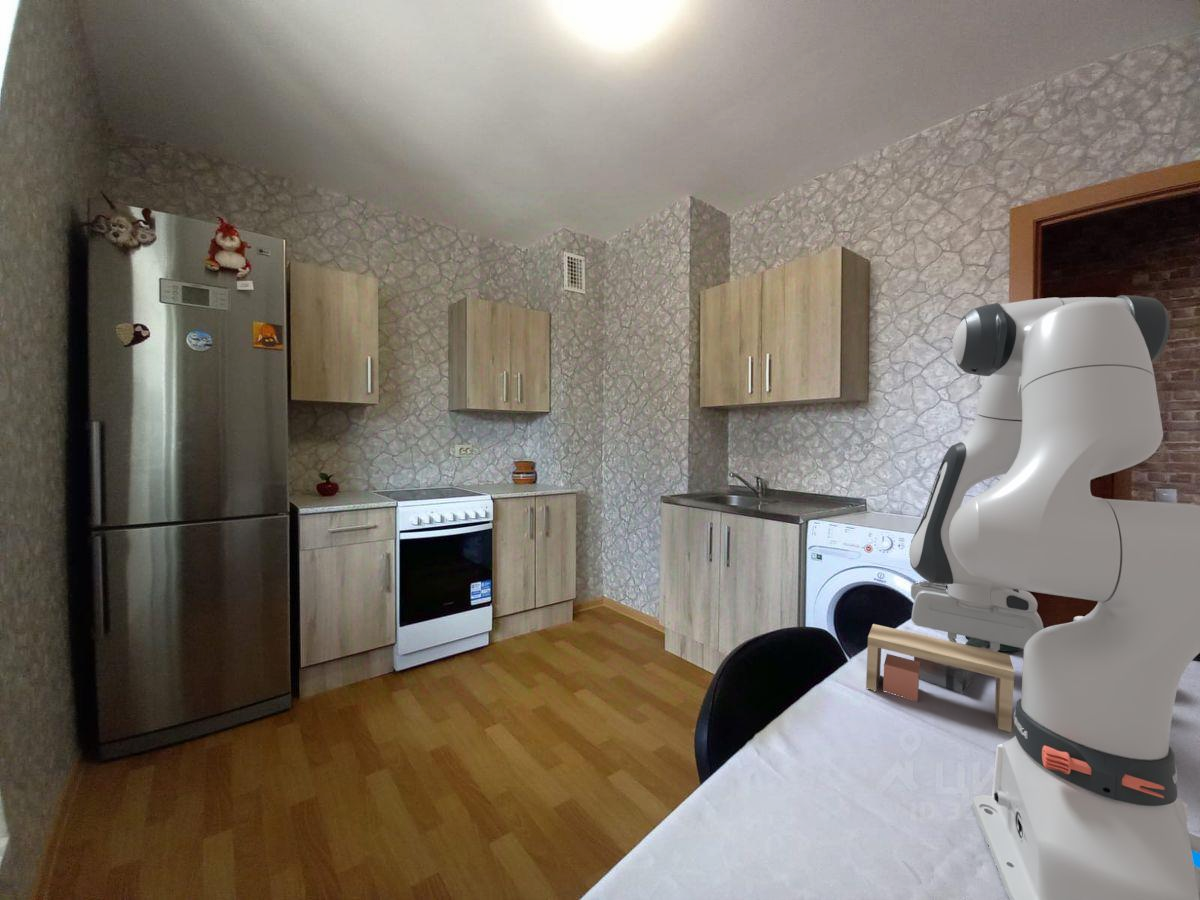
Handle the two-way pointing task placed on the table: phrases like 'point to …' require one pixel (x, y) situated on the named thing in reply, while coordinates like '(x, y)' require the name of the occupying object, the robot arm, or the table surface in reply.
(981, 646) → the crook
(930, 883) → the table surface
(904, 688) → the block
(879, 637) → the bridge
